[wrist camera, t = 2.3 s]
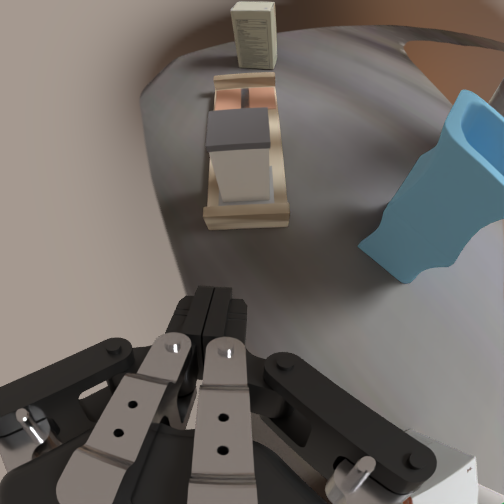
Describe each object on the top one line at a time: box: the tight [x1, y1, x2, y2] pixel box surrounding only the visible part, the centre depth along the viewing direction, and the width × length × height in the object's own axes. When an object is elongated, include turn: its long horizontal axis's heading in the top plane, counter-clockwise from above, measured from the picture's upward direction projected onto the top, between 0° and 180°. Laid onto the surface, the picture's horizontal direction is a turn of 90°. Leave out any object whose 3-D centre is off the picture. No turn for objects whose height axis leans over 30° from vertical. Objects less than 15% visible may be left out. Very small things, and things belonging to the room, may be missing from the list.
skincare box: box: [230, 2, 277, 69], centre depth 39 cm, size 6×4×12 cm
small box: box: [401, 429, 478, 504], centre depth 18 cm, size 8×6×13 cm
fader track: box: [203, 72, 290, 230], centre depth 36 cm, size 24×9×4 cm, turn 1°
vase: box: [357, 90, 504, 284], centre depth 23 cm, size 8×8×20 cm
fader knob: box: [205, 107, 274, 206], centre depth 28 cm, size 5×6×11 cm
